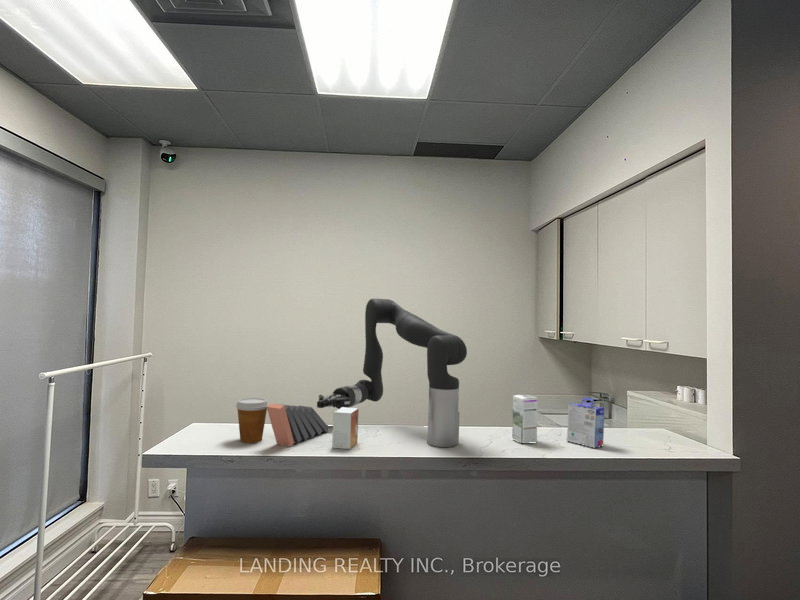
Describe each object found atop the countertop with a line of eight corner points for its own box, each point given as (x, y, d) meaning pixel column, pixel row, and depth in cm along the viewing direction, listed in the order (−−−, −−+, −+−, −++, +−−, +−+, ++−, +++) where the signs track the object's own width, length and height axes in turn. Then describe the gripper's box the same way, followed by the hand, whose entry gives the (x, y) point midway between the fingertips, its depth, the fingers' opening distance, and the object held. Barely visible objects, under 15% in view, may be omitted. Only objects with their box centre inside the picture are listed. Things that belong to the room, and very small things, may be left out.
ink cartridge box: (604, 446, 154) (605, 400, 154) (595, 449, 150) (596, 402, 151) (575, 439, 162) (576, 395, 162) (566, 442, 158) (567, 396, 158)
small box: (350, 449, 142) (351, 413, 142) (331, 448, 143) (332, 411, 143) (358, 442, 150) (359, 407, 150) (340, 441, 151) (341, 406, 151)
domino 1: (280, 440, 147) (270, 403, 142) (294, 442, 144) (284, 405, 140) (276, 444, 145) (266, 406, 141) (290, 446, 143) (280, 408, 138)
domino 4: (302, 431, 156) (286, 405, 149) (315, 433, 154) (299, 406, 147) (299, 435, 155) (283, 409, 147) (313, 438, 153) (297, 411, 145)
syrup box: (537, 443, 155) (538, 397, 155) (521, 444, 153) (523, 398, 153) (526, 438, 160) (527, 394, 160) (511, 440, 158) (512, 394, 158)
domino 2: (288, 437, 150) (275, 403, 144) (301, 439, 148) (289, 405, 142) (285, 441, 148) (271, 407, 143) (298, 443, 146) (285, 409, 141)
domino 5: (309, 428, 160) (292, 405, 151) (322, 430, 158) (305, 407, 149) (307, 433, 159) (289, 410, 150) (320, 435, 156) (303, 412, 148)
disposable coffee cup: (228, 443, 144) (229, 402, 145) (244, 435, 154) (245, 396, 154) (258, 446, 143) (260, 404, 143) (272, 437, 152) (274, 398, 152)
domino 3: (295, 434, 153) (280, 404, 146) (308, 436, 151) (294, 406, 144) (292, 438, 152) (277, 408, 145) (305, 440, 150) (291, 410, 143)
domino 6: (316, 425, 163) (298, 405, 154) (329, 427, 161) (311, 407, 152) (314, 430, 162) (296, 410, 153) (326, 432, 160) (309, 412, 151)
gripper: (331, 384, 178) (302, 391, 163) (363, 388, 173) (336, 395, 157) (331, 405, 178) (302, 413, 163) (362, 409, 173) (335, 418, 157)
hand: (319, 404), depth 160 cm, fingers closed
